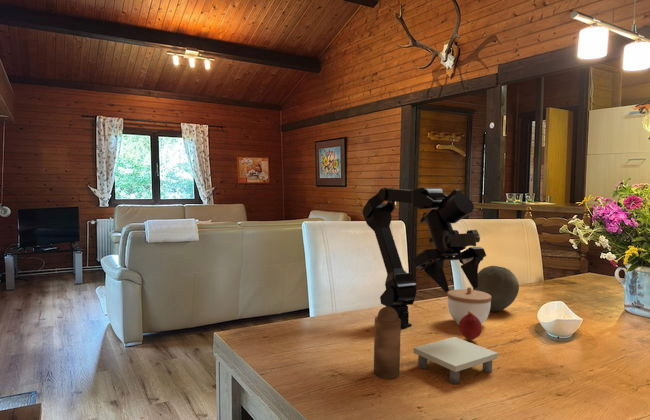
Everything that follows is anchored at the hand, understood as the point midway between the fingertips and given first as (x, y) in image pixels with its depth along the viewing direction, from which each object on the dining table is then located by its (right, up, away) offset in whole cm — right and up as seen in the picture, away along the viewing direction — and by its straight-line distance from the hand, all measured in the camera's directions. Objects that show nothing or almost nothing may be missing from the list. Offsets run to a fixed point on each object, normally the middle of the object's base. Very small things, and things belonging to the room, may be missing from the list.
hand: (461, 290), depth 102 cm
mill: (-20, -16, -10) cm, 28 cm away
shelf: (-4, -16, -7) cm, 18 cm away
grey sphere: (+24, -15, +41) cm, 50 cm away
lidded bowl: (+10, -15, +26) cm, 32 cm away
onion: (+6, -16, +11) cm, 20 cm away
